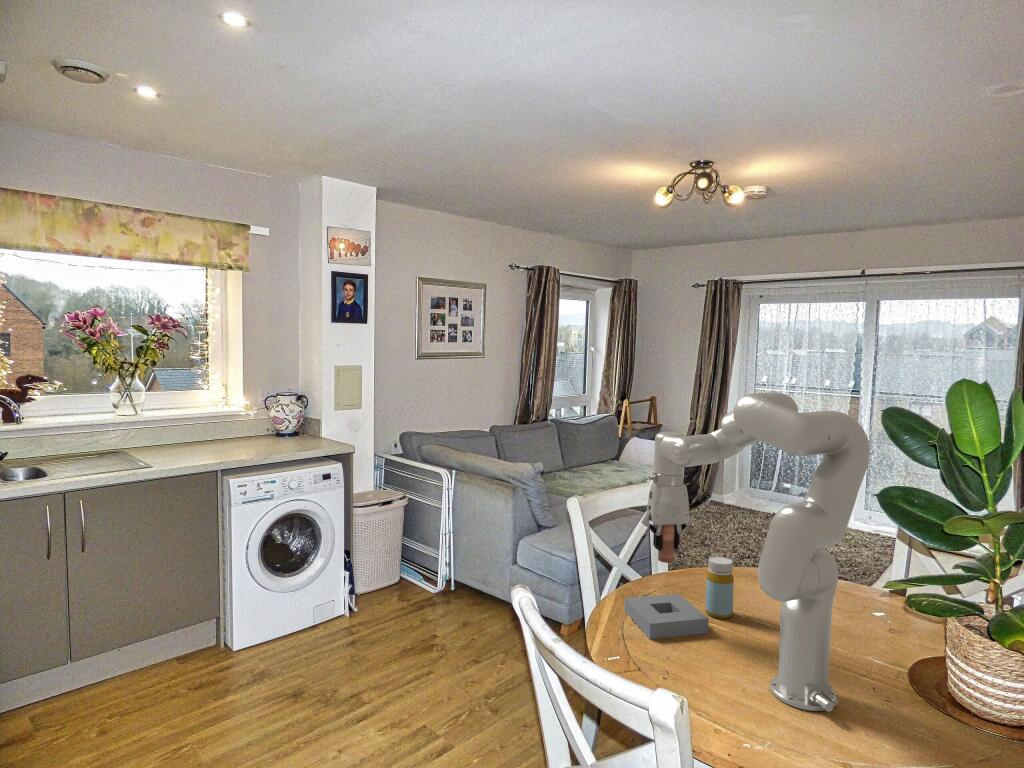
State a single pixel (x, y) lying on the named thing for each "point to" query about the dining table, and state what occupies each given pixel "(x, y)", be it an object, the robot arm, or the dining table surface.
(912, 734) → the dining table surface
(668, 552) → the peg
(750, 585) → the dining table surface
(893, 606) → the dining table surface
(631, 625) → the dining table surface
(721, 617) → the bottle
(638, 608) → the socket block
